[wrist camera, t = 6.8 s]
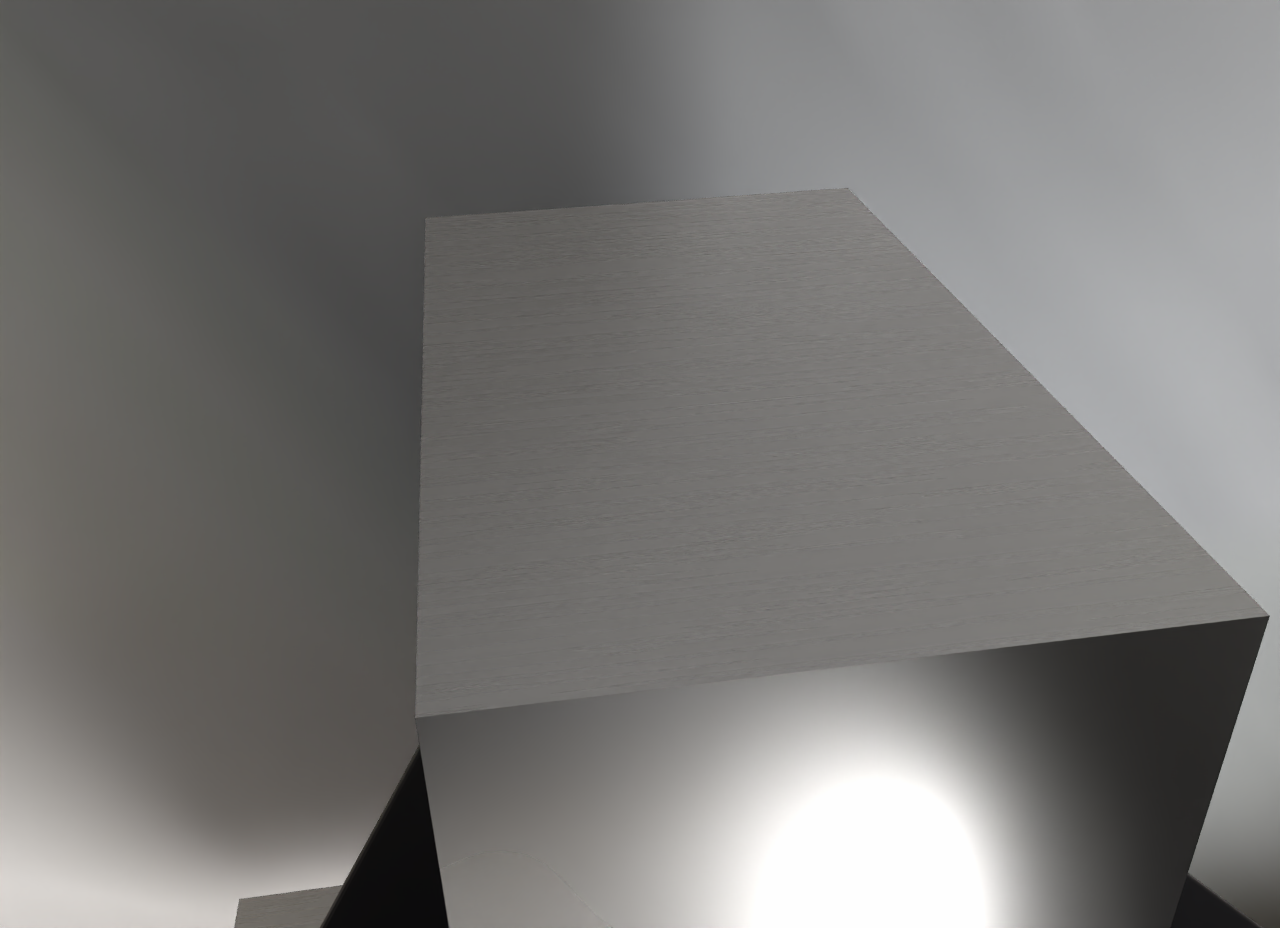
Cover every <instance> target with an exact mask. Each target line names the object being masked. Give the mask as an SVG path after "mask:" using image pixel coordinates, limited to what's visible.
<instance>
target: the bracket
mask: <svg viewBox="0 0 1280 928" xmlns="http://www.w3.org/2000/svg"><path fill="white" fill-rule="evenodd" d="M1269 616H1270V615H1269V614H1268V613H1267V612H1266V611H1265V610H1264V609H1263V608H1262V607H1261V606H1260V605H1259V604H1258V603H1257V602H1256V601H1255V600H1254V599H1253V598H1252V597H1251V596H1250V595H1249V594H1248V593H1247V592H1246V591H1245V590H1244V589H1243V588H1242V587H1241V586H1240V585H1239V584H1238V583H1237V582H1236V581H1235V580H1234V579H1233V578H1232V577H1231V576H1230V575H1229V574H1228V573H1227V572H1226V571H1225V570H1224V569H1223V568H1222V567H1221V566H1220V565H1219V564H1218V563H1217V562H1216V561H1215V560H1214V559H1213V558H1212V557H1211V556H1210V555H1209V554H1208V553H1207V552H1206V551H1205V550H1204V549H1203V548H1202V547H1201V546H1200V545H1199V544H1198V543H1197V541H1196V540H1195V539H1194V538H1193V537H1192V536H1191V535H1190V534H1189V533H1188V532H1187V531H1186V530H1185V529H1184V528H1183V527H1182V526H1181V525H1180V524H1179V523H1178V522H1177V521H1176V520H1175V519H1174V518H1173V517H1172V516H1171V515H1170V514H1169V513H1168V512H1167V511H1166V510H1165V509H1164V508H1163V507H1162V506H1161V505H1160V504H1159V503H1158V502H1157V501H1156V500H1155V499H1154V498H1153V497H1152V496H1151V495H1150V494H1149V493H1148V492H1147V491H1146V490H1145V489H1144V488H1143V487H1142V486H1141V485H1140V484H1139V483H1138V482H1137V481H1136V480H1135V479H1134V478H1133V477H1132V476H1131V475H1130V474H1129V473H1128V472H1127V471H1126V470H1125V469H1124V468H1123V467H1122V465H1121V464H1120V463H1119V462H1118V461H1117V460H1116V459H1115V458H1114V457H1113V456H1112V455H1111V454H1110V453H1109V452H1108V451H1107V450H1106V449H1105V448H1104V447H1103V446H1102V445H1101V444H1100V443H1099V442H1098V441H1097V440H1096V439H1095V438H1094V437H1093V436H1092V435H1091V434H1090V433H1089V432H1088V431H1087V430H1086V429H1085V428H1084V427H1083V426H1082V425H1081V424H1080V423H1079V422H1078V421H1077V420H1076V419H1075V418H1074V417H1073V416H1072V415H1071V414H1070V413H1069V412H1068V411H1067V410H1066V409H1065V408H1064V407H1063V406H1062V405H1061V404H1060V403H1059V402H1058V401H1057V400H1056V399H1055V398H1054V397H1053V396H1052V395H1051V394H1050V393H1049V392H1048V391H1047V389H1046V388H1045V387H1044V386H1043V385H1042V384H1041V383H1040V382H1039V381H1038V380H1037V379H1036V378H1035V377H1034V376H1033V375H1032V374H1031V373H1030V372H1029V371H1028V370H1027V369H1026V368H1025V367H1024V366H1023V365H1022V364H1021V363H1020V362H1019V361H1018V360H1017V359H1016V358H1015V357H1014V356H1013V355H1012V354H1011V353H1010V352H1009V351H1008V350H1007V349H1006V348H1005V347H1004V346H1003V345H1002V344H1001V343H1000V342H999V341H998V340H997V339H996V338H995V337H994V336H993V335H992V334H991V333H990V332H989V331H988V330H987V329H986V328H985V327H984V326H983V325H982V324H981V323H980V322H979V321H978V320H977V319H976V318H975V317H974V316H973V315H972V313H971V312H970V311H969V310H968V309H967V308H966V307H965V306H964V305H963V304H962V303H961V302H960V301H959V300H958V299H957V298H956V297H955V296H954V295H953V294H952V293H951V292H950V291H949V290H948V289H947V288H946V287H945V286H944V285H943V284H942V283H941V282H940V281H939V280H938V279H937V278H936V277H935V276H934V275H933V274H932V273H931V272H930V271H929V270H928V269H927V268H926V267H925V266H924V265H923V264H922V263H921V262H920V261H919V260H918V259H917V258H916V257H915V256H914V255H913V254H912V253H911V252H910V251H909V250H908V249H907V248H906V247H905V246H904V245H903V244H902V243H901V242H900V241H899V240H898V239H897V237H896V236H895V235H894V234H893V233H892V232H891V231H890V230H889V229H888V228H887V227H886V226H885V225H884V224H883V223H882V222H881V221H880V220H879V219H878V218H877V217H876V216H875V215H874V214H873V213H872V212H871V211H870V210H869V209H868V208H867V207H866V206H865V205H864V204H863V203H862V202H861V201H860V200H859V199H858V198H857V197H856V196H855V195H854V194H853V193H852V192H851V191H850V190H849V189H848V188H839V189H825V190H811V191H797V192H783V193H769V194H754V195H740V196H726V197H712V198H698V199H684V200H669V201H655V202H641V203H627V204H613V205H599V206H584V207H570V208H556V209H542V210H528V211H514V212H499V213H485V214H471V215H457V216H443V217H429V218H426V223H425V271H424V319H423V367H422V415H421V463H420V511H419V559H418V607H417V655H416V703H415V720H416V726H417V732H418V738H419V744H420V751H421V757H422V763H423V769H424V775H425V781H426V788H427V794H428V800H429V806H430V812H431V819H432V825H433V831H434V837H435V843H436V849H437V856H438V862H439V868H440V874H441V880H442V886H443V893H444V899H445V905H446V911H447V917H448V923H449V928H1170V927H1171V924H1172V920H1173V917H1174V914H1175V911H1176V908H1177V905H1178V902H1179V898H1180V895H1181V892H1182V889H1183V886H1184V883H1185V880H1186V877H1187V873H1188V870H1189V867H1190V864H1191V861H1192V858H1193V855H1194V851H1195V848H1196V845H1197V842H1198V839H1199V836H1200V833H1201V830H1202V826H1203V823H1204V820H1205V817H1206V814H1207V811H1208V808H1209V804H1210V801H1211V798H1212V795H1213V792H1214V789H1215V786H1216V782H1217V779H1218V776H1219V773H1220V770H1221V767H1222V764H1223V761H1224V757H1225V754H1226V751H1227V748H1228V745H1229V742H1230V739H1231V735H1232V732H1233V729H1234V726H1235V723H1236V720H1237V717H1238V714H1239V710H1240V707H1241V704H1242V701H1243V698H1244V695H1245V692H1246V688H1247V685H1248V682H1249V679H1250V676H1251V673H1252V670H1253V667H1254V663H1255V660H1256V657H1257V654H1258V651H1259V648H1260V645H1261V641H1262V638H1263V635H1264V632H1265V629H1266V626H1267V623H1268V620H1269ZM342 886H343V885H340V886H333V887H325V888H318V889H310V890H303V891H296V892H288V893H281V894H273V895H266V896H259V897H251V898H244V899H239V903H238V909H237V915H236V920H235V926H234V928H320V926H321V924H322V922H323V920H324V918H325V917H326V915H327V913H328V911H329V909H330V907H331V906H332V904H333V902H334V900H335V898H336V897H337V895H338V893H339V891H340V889H341V887H342Z"/></svg>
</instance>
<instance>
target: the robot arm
mask: <svg viewBox="0 0 1280 928" xmlns="http://www.w3.org/2000/svg"><path fill="white" fill-rule="evenodd" d="M320 928H449V923H448V917H447V911H446V905H445V899H444V893H443V886H442V880H441V874H440V868H439V862H438V856H437V849H436V843H435V837H434V831H433V825H432V819H431V812H430V806H429V800H428V794H427V788H426V781H425V775H424V769H423V763H422V757H421V751H420V745H419V746H418V748H417V750H416V752H415V754H414V756H413V757H412V759H411V761H410V763H409V765H408V767H407V768H406V770H405V772H404V774H403V776H402V778H401V779H400V781H399V783H398V785H397V787H396V789H395V790H394V792H393V794H392V796H391V798H390V799H389V801H388V803H387V805H386V807H385V809H384V810H383V812H382V814H381V816H380V818H379V820H378V821H377V823H376V825H375V827H374V829H373V831H372V832H371V834H370V836H369V838H368V840H367V842H366V843H365V845H364V847H363V849H362V851H361V853H360V854H359V856H358V858H357V860H356V862H355V864H354V865H353V867H352V869H351V871H350V873H349V875H348V876H347V878H346V880H345V882H344V884H343V886H342V887H341V889H340V891H339V893H338V895H337V897H336V898H335V900H334V902H333V904H332V906H331V907H330V909H329V911H328V913H327V915H326V917H325V918H324V920H323V922H322V924H321V926H320ZM1170 928H1262V927H1261V926H1260V925H1258V924H1257V923H1256V922H1254V921H1253V920H1251V919H1250V918H1249V917H1247V916H1246V915H1245V914H1243V913H1242V912H1241V911H1239V910H1238V909H1236V908H1235V907H1234V906H1232V905H1231V904H1230V903H1228V902H1227V901H1226V900H1224V899H1223V898H1221V897H1220V896H1219V895H1217V894H1216V893H1215V892H1213V891H1212V890H1211V889H1209V888H1208V887H1206V886H1205V885H1204V884H1202V883H1201V882H1200V881H1198V880H1197V879H1196V878H1194V877H1193V876H1192V875H1190V874H1189V873H1187V877H1186V880H1185V883H1184V886H1183V889H1182V892H1181V895H1180V898H1179V902H1178V905H1177V908H1176V911H1175V914H1174V917H1173V920H1172V924H1171V927H1170Z"/></svg>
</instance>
